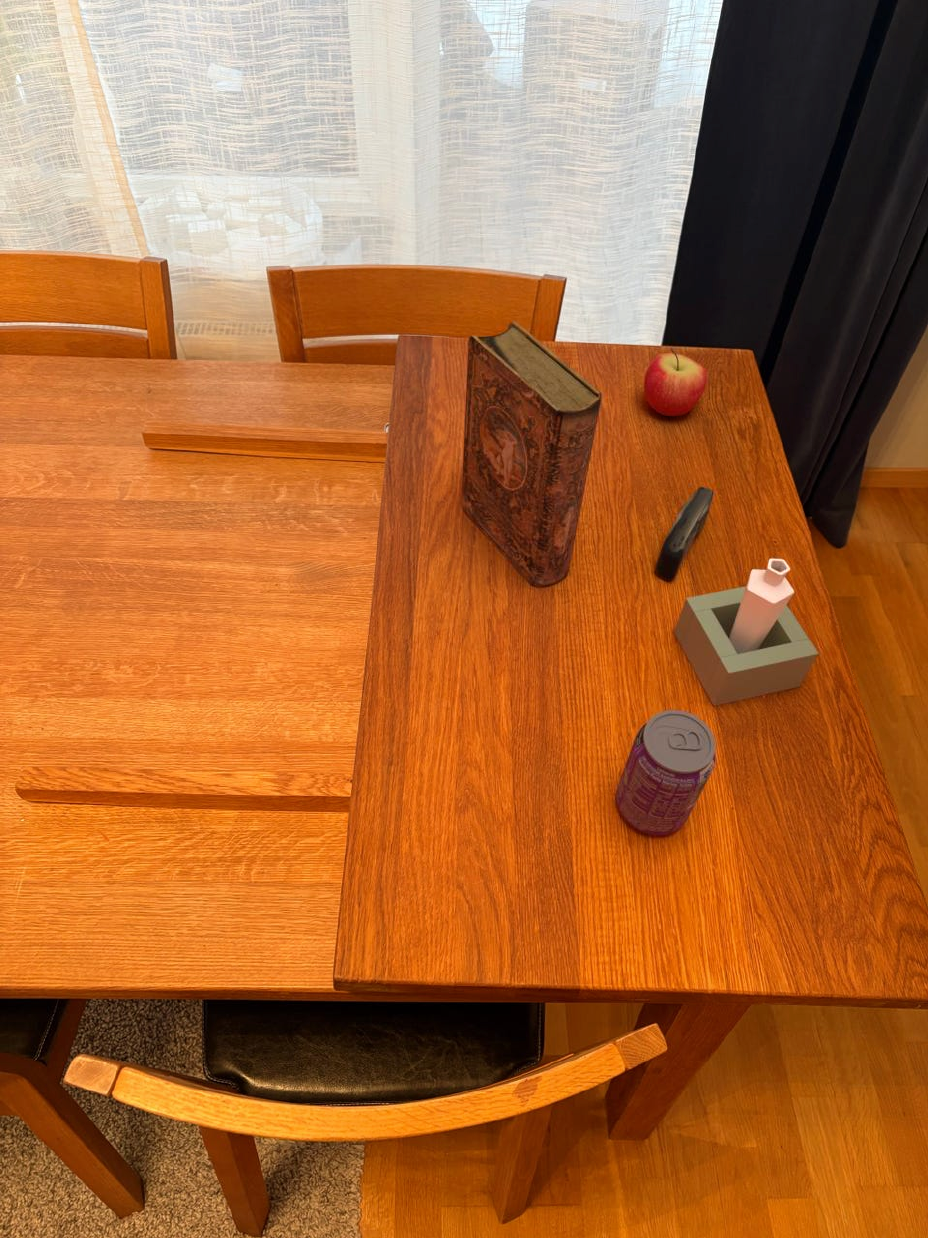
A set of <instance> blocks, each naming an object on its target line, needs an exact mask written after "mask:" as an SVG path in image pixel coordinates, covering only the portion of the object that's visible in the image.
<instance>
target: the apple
mask: <svg viewBox="0 0 928 1238" xmlns="http://www.w3.org/2000/svg"><path fill="white" fill-rule="evenodd" d="M669 351H671V352H664V353H660V354H658V355H657V356H655V358H653V360H652V361H651V362H650V363H649V365H648V367H647V368H646V372H645V375H644V378H643V391H644V396H645V399H646V401H647V403H648V404H649V406H650V407H651V408H652V409H653V410H654V411H655V412H656V413H658V414H659V415H662V416H665V417H679V416H683V415H685V414H687V413H688V412H690V411H691V410H692V409H693V408H694V407H695V406H696V405H697V404H698V402H699V401H700V400H701V398H702V396H703V394H704V392H705V390H706V386H707V382H708V374H707V370H706V369H705V367H704V366H703V365H702V364H700V363H699V362H698V361H696V360H694V359H692V358H691V357H688V356H686V355H684V354H680V353H676V351H675V350H674V348H673V347H669Z"/></svg>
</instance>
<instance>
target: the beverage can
mask: <svg viewBox="0 0 928 1238" xmlns="http://www.w3.org/2000/svg"><path fill="white" fill-rule="evenodd" d="M714 736H715V735H714V734H713V731H712V730H711V729H710V727H709V726H708V725H707V724H706V722H704V721H703V720H702V719H701V718H700V717H698V716H697V715H695V714H693V713H690V712H687V711H684V710H680V709H667V710H663V711H660V712H658V713H656V714H654V715H653V716H652V717H650V719H648V721H647V722H646V723H644V724H643V725H642V726H641V728H640V729H639V730H638V732H637V733H636V735H635V737H634V740H633V743H632V746H631V749H630V752H629V755H628V757H627V759H626V763H625V765H624V768H623V771H622V774H621V776H620V779H619V781H618V785H617V788H616V791H615V792H616V793H615V801H616V805H617V806H616V807H617V808H618V811H619V814H620V815H621V816H622V817H623V819H624V820H625V821H626V822H627V823H628V824H629V825H630V826H631V827H633V828H634V829H636V830H637V831H639V832H641V833H644V834H647V835H652V836H666V835H671V834H673V833H675V832H677V831H679V830H680V829H681V828H682V827H684V825H685V824H686V822H687V821H688V819H689V817H690V815H691V813H692V812H693V809H694V807H695V805H696V804H697V802H698V800H699V798H700V796H701V794H702V792H703V790H704V789H705V787H706V784H707V782H708V781H709V778H710V777H711V775H712V773H713V771H714V768H715V765H716V747H717V745H716V739H715V737H714Z"/></svg>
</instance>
